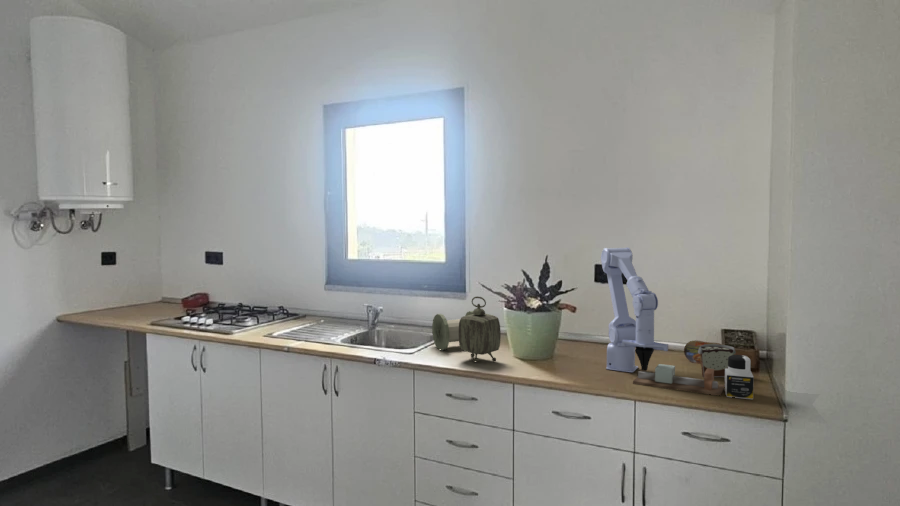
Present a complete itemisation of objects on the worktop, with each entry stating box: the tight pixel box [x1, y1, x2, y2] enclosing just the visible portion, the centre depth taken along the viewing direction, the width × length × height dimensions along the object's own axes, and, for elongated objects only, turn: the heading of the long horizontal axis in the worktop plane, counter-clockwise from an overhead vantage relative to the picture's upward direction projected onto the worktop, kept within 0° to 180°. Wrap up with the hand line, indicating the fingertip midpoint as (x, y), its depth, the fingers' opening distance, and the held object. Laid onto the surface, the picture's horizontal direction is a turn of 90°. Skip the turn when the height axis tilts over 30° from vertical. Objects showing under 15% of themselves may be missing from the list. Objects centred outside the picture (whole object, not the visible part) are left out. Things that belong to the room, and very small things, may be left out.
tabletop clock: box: [458, 296, 502, 362], centre depth 210 cm, size 14×9×25 cm, turn 48°
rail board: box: [632, 368, 725, 397], centre depth 177 cm, size 26×10×6 cm, turn 58°
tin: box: [683, 339, 723, 365], centre depth 202 cm, size 15×3×8 cm, turn 47°
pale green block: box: [654, 363, 676, 384], centre depth 179 cm, size 5×6×4 cm
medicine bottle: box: [724, 354, 755, 400], centre depth 166 cm, size 7×7×12 cm
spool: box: [431, 310, 474, 351], centre depth 233 cm, size 16×15×15 cm
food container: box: [698, 344, 737, 378], centre depth 188 cm, size 12×6×10 cm, turn 92°
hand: (644, 369), depth 182 cm, fingers closed
